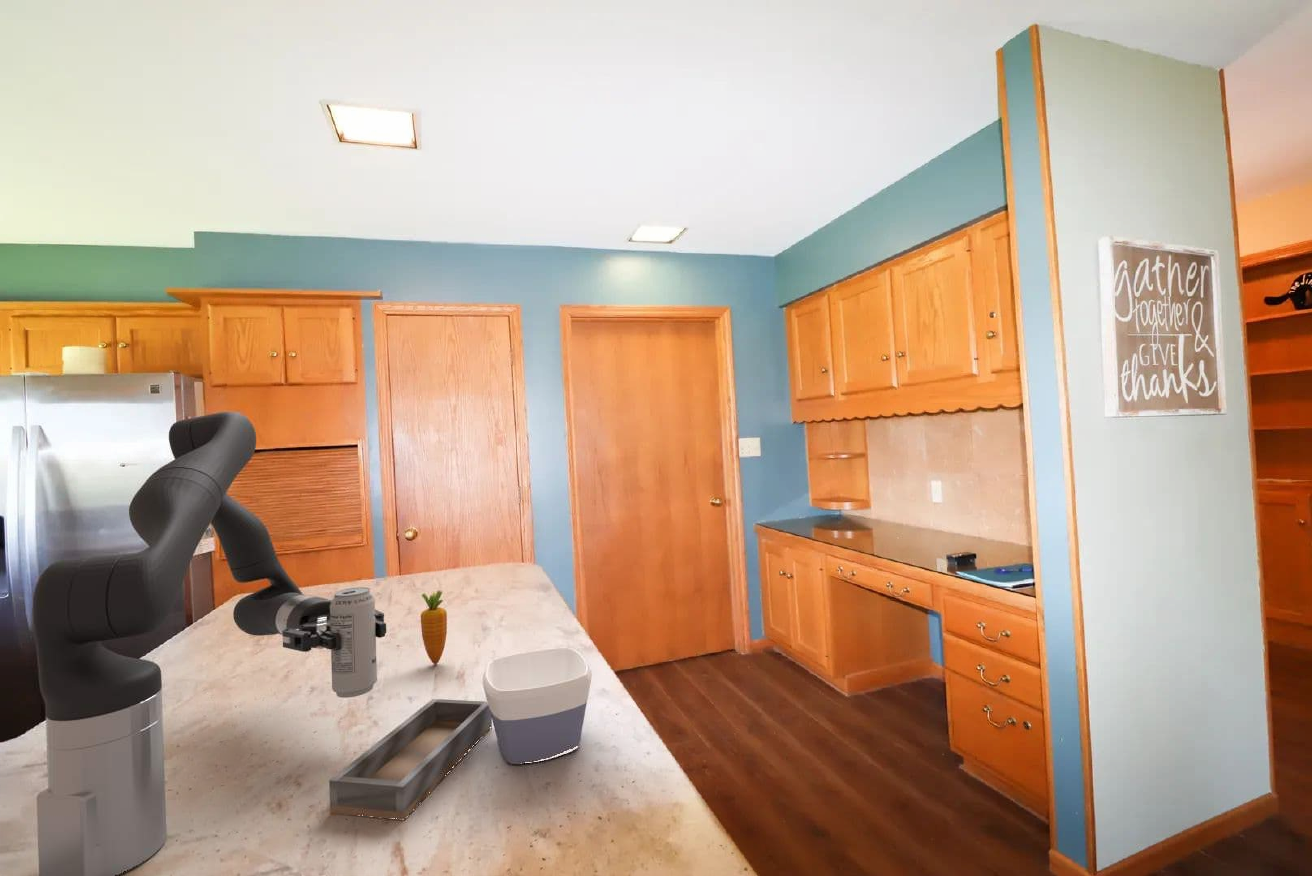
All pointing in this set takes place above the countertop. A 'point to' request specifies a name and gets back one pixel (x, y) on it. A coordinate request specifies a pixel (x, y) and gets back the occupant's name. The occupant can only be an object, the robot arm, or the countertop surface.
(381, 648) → the countertop surface
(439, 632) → the carrot
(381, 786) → the rectangular tray
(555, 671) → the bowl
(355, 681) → the energy drink can
